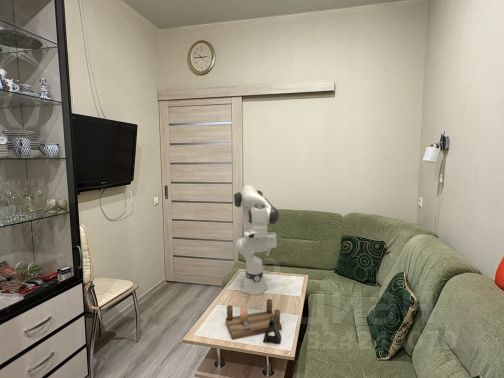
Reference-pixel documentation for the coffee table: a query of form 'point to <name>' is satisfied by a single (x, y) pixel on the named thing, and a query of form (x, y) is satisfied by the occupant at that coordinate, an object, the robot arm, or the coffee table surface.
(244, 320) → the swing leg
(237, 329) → the stool base
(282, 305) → the coffee table surface
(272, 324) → the phone stand
